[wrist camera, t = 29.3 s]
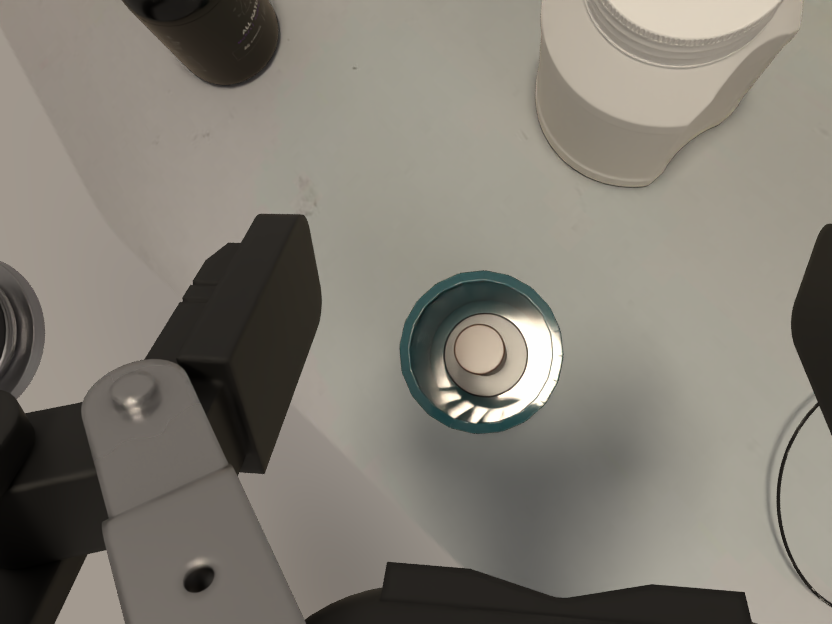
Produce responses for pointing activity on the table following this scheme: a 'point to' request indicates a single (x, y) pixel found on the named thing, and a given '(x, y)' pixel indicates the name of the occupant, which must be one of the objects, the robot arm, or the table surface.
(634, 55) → the jar
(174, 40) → the supplement bottle
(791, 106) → the table surface
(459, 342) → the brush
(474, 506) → the table surface
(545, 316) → the crock
